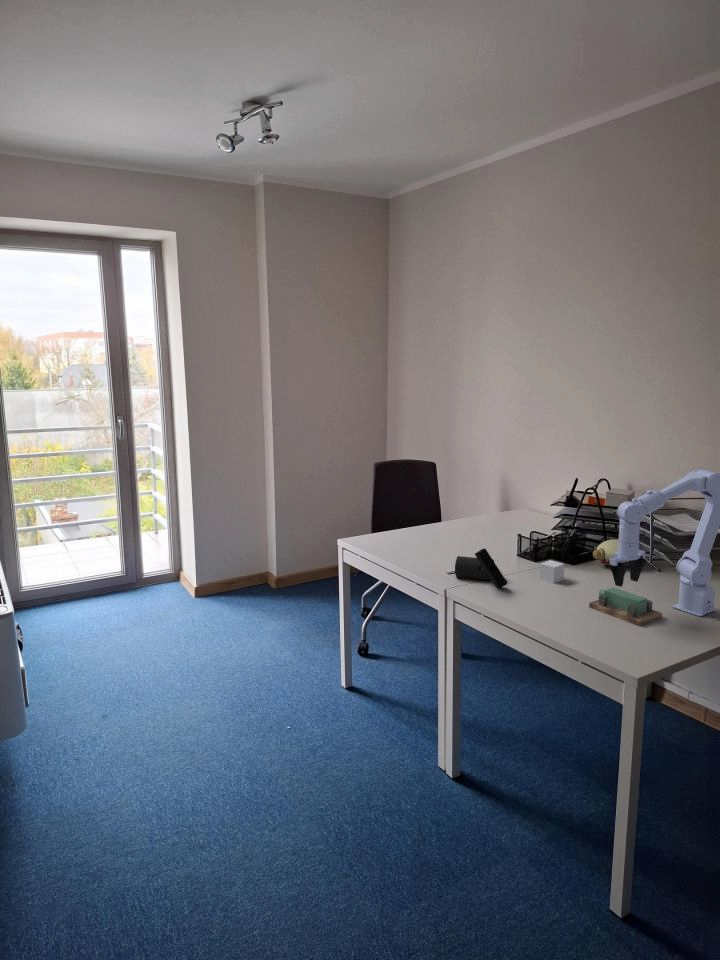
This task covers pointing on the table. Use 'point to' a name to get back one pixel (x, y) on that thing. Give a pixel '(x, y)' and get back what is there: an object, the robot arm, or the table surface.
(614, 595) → the green bottle
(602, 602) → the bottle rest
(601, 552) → the cream rounded piece
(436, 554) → the table surface
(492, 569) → the track light
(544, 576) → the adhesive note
